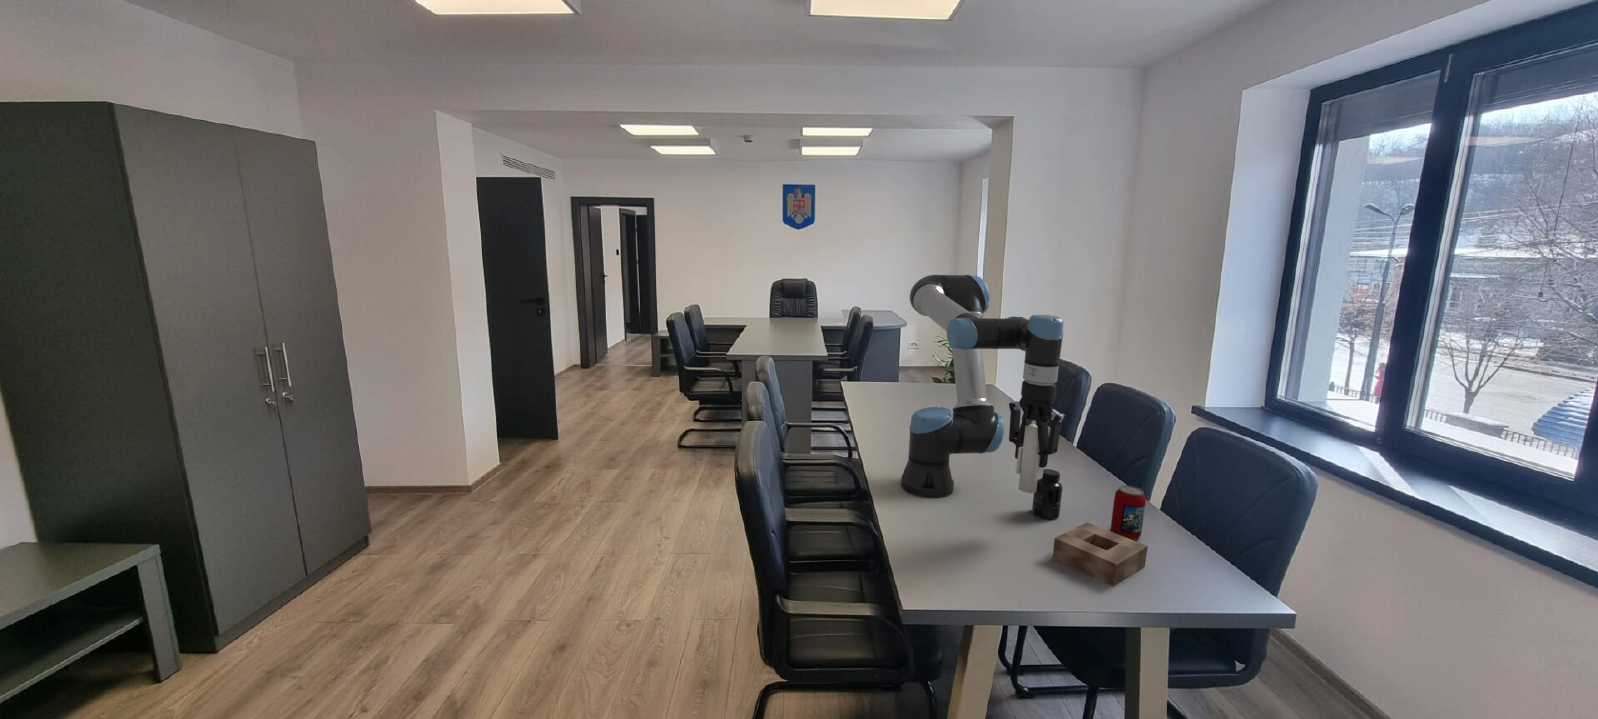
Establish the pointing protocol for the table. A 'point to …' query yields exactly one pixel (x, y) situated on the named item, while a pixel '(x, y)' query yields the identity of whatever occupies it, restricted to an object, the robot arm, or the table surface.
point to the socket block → (1100, 553)
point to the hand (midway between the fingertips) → (1029, 475)
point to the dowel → (1029, 459)
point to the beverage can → (1128, 512)
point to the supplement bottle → (1048, 495)
